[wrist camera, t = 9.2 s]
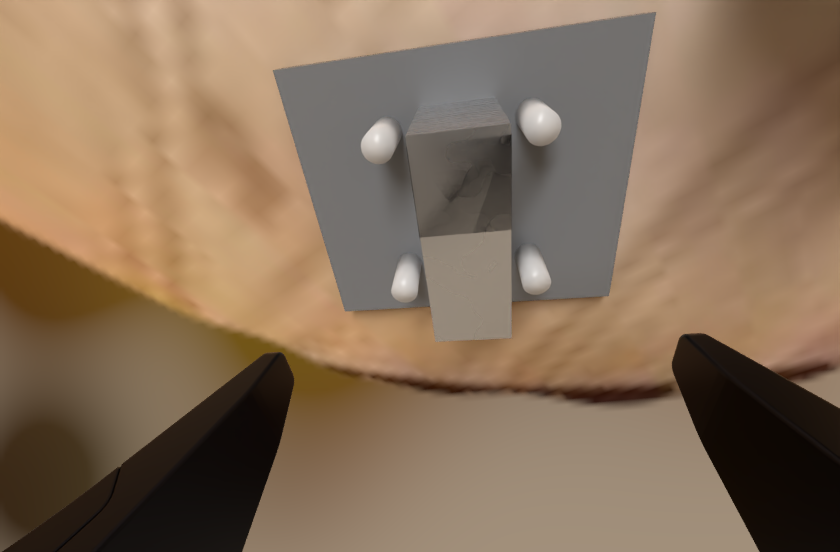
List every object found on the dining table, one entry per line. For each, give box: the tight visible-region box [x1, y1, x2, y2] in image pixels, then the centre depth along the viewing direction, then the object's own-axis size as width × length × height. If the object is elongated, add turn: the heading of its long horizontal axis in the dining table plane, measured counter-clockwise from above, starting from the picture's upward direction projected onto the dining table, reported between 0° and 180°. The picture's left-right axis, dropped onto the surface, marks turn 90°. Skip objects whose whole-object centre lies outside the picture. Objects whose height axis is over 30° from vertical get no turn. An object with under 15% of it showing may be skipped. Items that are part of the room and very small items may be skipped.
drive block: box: [405, 97, 512, 342], centre depth 15 cm, size 3×8×5 cm, turn 8°
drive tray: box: [273, 12, 656, 311], centre depth 16 cm, size 14×12×4 cm
